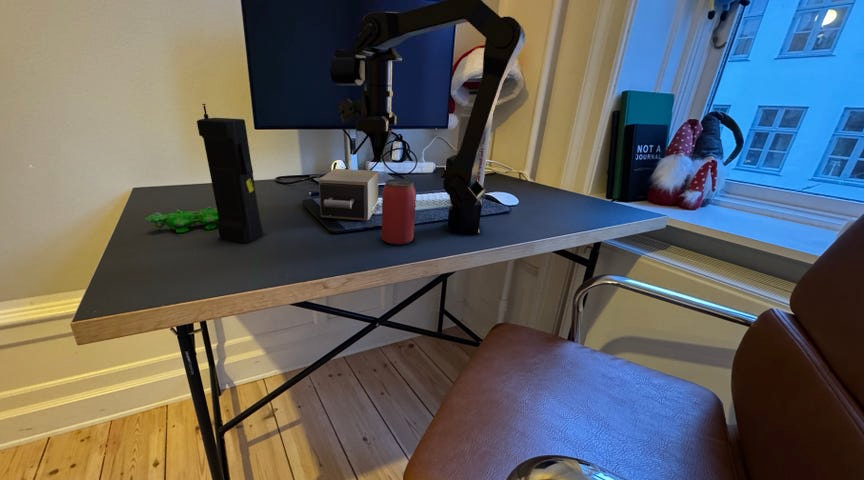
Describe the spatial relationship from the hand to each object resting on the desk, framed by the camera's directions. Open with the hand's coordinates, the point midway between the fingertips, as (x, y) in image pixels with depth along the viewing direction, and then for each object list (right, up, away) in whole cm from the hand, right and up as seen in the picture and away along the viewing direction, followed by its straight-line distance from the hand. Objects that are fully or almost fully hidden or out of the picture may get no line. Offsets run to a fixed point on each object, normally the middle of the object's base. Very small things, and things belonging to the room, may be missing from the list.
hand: (377, 161), depth 85 cm
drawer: (-8, -11, +4) cm, 14 cm away
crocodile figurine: (-40, -16, -4) cm, 43 cm away
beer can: (+4, -19, -9) cm, 22 cm away
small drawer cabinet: (-7, -10, +8) cm, 15 cm away
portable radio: (-27, -19, -9) cm, 34 cm away
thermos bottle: (+24, -7, +17) cm, 30 cm away
